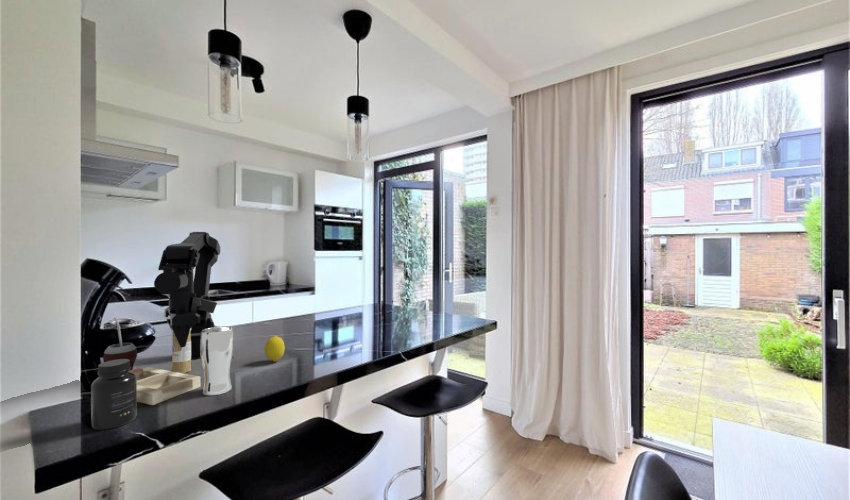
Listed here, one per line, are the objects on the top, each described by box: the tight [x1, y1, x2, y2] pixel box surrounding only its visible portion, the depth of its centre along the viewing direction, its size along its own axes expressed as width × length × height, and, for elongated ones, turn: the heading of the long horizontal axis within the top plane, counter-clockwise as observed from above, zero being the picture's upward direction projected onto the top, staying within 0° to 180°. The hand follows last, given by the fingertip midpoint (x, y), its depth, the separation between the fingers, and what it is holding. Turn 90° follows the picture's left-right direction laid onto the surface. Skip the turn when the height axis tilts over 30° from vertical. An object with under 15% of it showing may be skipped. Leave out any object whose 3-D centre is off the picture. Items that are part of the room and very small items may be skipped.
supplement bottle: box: [90, 359, 138, 431], centre depth 69 cm, size 7×7×12 cm
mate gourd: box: [102, 317, 138, 371], centre depth 96 cm, size 8×8×15 cm
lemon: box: [264, 335, 286, 363], centre depth 106 cm, size 6×6×8 cm
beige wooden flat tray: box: [129, 366, 201, 406], centre depth 86 cm, size 21×11×3 cm, turn 69°
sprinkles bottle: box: [171, 328, 192, 374], centre depth 98 cm, size 5×5×14 cm
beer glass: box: [200, 325, 234, 397], centre depth 85 cm, size 7×7×15 cm
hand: (181, 345), depth 98 cm, fingers closed on sprinkles bottle, 4 cm apart
